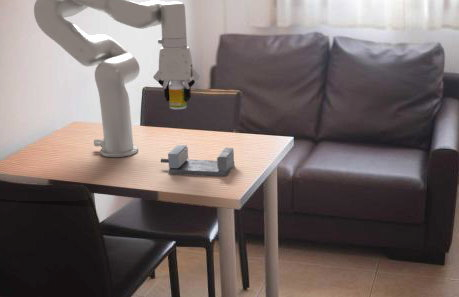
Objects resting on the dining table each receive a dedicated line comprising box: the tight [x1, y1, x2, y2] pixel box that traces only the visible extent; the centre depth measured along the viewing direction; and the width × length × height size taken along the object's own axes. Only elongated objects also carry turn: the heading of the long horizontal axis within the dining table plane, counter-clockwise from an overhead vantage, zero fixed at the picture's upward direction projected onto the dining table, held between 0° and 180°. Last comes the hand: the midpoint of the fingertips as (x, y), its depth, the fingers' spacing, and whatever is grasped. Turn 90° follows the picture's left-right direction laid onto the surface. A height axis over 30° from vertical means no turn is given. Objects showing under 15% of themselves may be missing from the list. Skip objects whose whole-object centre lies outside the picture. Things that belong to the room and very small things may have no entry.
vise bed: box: [168, 147, 235, 178], centre depth 208 cm, size 18×10×6 cm, turn 76°
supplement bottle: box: [168, 81, 188, 110], centre depth 215 cm, size 5×5×10 cm
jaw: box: [160, 144, 189, 169], centre depth 210 cm, size 7×9×4 cm
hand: (178, 99), depth 216 cm, fingers closed on supplement bottle, 5 cm apart
